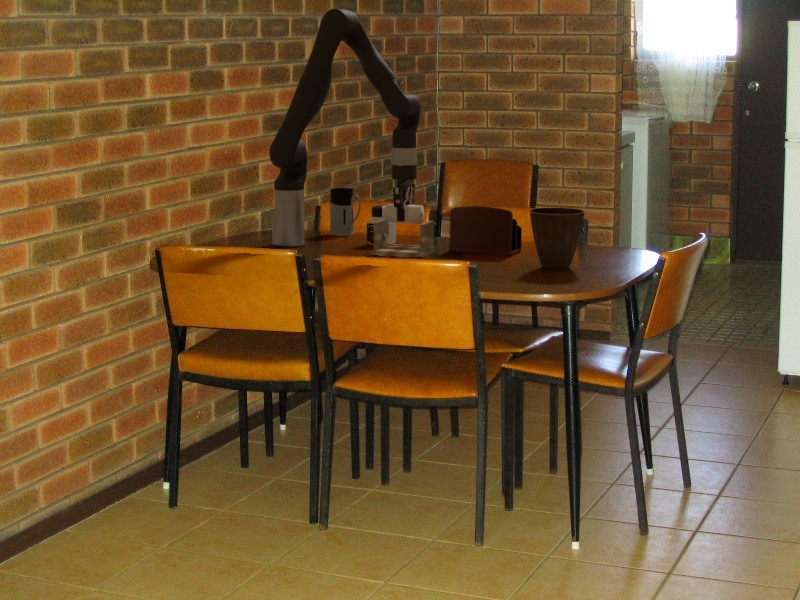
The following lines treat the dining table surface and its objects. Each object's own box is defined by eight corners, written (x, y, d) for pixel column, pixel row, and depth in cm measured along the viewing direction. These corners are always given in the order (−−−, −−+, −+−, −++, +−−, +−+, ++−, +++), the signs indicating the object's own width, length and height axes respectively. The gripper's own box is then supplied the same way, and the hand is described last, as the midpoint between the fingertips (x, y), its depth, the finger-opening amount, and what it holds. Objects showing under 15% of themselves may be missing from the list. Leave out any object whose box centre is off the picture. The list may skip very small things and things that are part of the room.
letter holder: (511, 256, 357) (512, 208, 355) (448, 251, 365) (449, 205, 363) (521, 251, 366) (522, 205, 364) (460, 247, 374) (461, 202, 372)
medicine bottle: (366, 244, 378) (366, 206, 376) (375, 241, 384) (375, 204, 382) (387, 246, 375) (387, 207, 373) (396, 243, 382) (396, 205, 379)
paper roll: (384, 223, 357) (383, 205, 356) (389, 220, 362) (389, 202, 361) (418, 225, 354) (418, 206, 353) (424, 222, 359) (424, 203, 358)
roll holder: (371, 255, 356) (371, 223, 354) (386, 248, 369) (387, 217, 367) (421, 258, 351) (421, 225, 349) (435, 251, 364) (435, 220, 362)
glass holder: (344, 231, 408) (344, 187, 405) (370, 236, 397) (370, 190, 394) (323, 233, 402) (323, 188, 400) (349, 238, 392) (349, 192, 389)
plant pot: (581, 273, 326) (583, 214, 323) (526, 271, 328) (527, 213, 326) (583, 264, 340) (585, 208, 337) (530, 263, 343) (531, 207, 340)
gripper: (399, 161, 363) (399, 217, 366) (384, 164, 349) (384, 222, 352) (423, 161, 360) (423, 218, 364) (408, 165, 347) (408, 223, 350)
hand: (403, 220), depth 358 cm, fingers closed on paper roll, 5 cm apart
